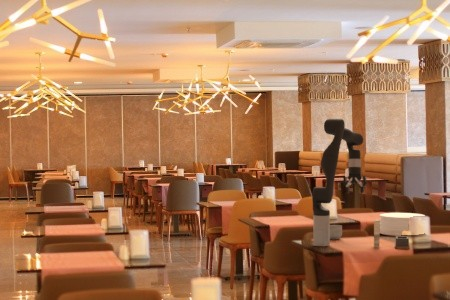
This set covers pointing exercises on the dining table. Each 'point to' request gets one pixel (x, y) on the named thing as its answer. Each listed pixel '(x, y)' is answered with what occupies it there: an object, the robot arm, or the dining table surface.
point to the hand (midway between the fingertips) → (354, 193)
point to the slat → (376, 233)
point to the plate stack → (395, 223)
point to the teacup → (335, 231)
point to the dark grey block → (402, 242)
